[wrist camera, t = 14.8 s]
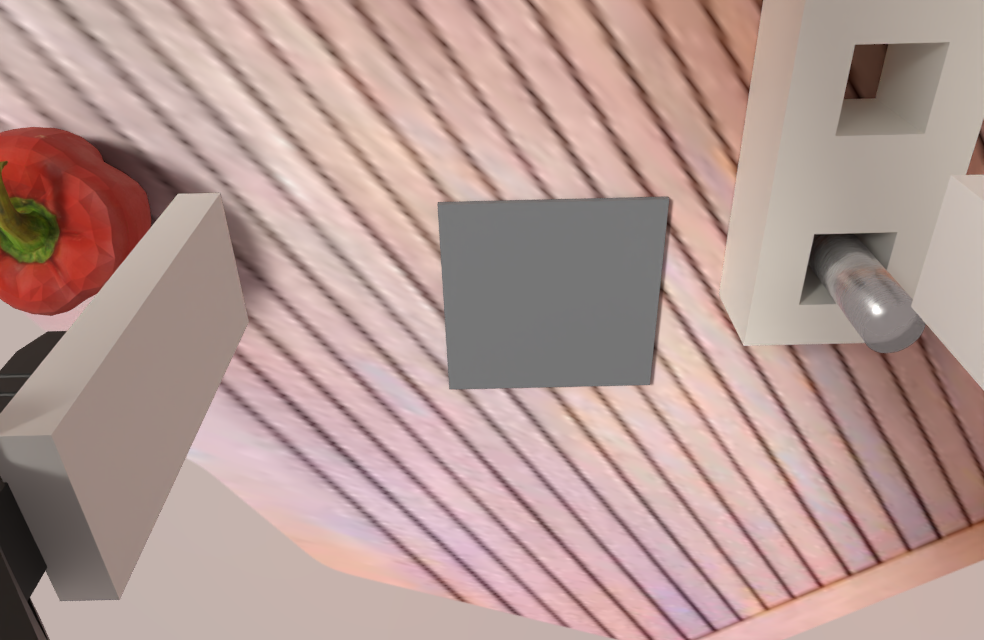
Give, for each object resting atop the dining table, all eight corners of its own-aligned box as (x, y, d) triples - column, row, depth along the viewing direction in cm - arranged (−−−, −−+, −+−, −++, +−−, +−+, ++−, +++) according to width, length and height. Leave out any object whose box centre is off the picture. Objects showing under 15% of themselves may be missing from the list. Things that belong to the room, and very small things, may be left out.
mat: (449, 385, 56) (449, 389, 56) (438, 202, 49) (437, 205, 48) (648, 381, 56) (649, 384, 56) (667, 196, 48) (669, 199, 48)
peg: (781, 245, 50) (856, 353, 40) (790, 201, 49) (871, 302, 39) (828, 244, 50) (916, 352, 40) (839, 200, 49) (933, 301, 39)
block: (871, 290, 52) (913, 341, 47) (718, 294, 52) (743, 345, 47) (961, -42, 41) (1027, -22, 36) (768, -37, 41) (808, -16, 36)
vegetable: (-21, 73, 44) (-141, 134, 36) (170, 104, 45) (97, 171, 37) (8, 246, 50) (-89, 334, 42) (177, 270, 51) (116, 361, 43)
